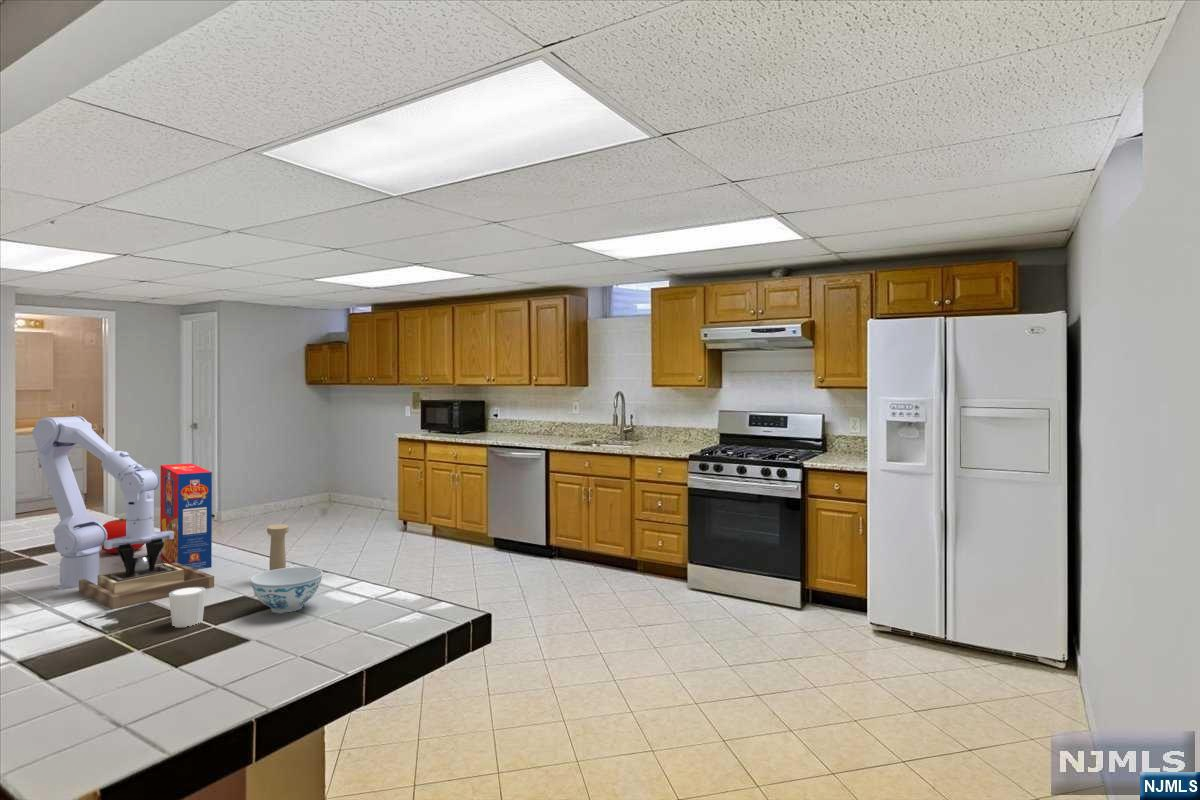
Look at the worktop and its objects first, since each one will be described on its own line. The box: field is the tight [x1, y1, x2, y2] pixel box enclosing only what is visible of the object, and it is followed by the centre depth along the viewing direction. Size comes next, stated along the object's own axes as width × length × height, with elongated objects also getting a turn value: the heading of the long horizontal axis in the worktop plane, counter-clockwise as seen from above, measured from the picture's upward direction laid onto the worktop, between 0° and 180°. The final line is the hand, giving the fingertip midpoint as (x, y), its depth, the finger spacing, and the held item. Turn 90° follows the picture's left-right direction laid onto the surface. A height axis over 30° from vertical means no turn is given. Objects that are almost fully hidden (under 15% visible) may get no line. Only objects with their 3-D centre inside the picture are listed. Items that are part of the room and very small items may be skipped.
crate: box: [97, 562, 185, 595], centre depth 165 cm, size 11×15×4 cm
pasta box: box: [159, 463, 213, 570], centre depth 191 cm, size 28×8×28 cm, turn 42°
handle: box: [266, 523, 289, 571], centre depth 173 cm, size 5×6×15 cm
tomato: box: [101, 518, 146, 554], centre depth 205 cm, size 14×13×10 cm
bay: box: [78, 562, 215, 610], centre depth 163 cm, size 22×21×4 cm
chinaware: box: [250, 566, 323, 614], centre depth 153 cm, size 15×15×8 cm
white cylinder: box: [168, 587, 207, 628], centre depth 143 cm, size 7×7×7 cm
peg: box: [131, 554, 150, 577], centre depth 165 cm, size 4×4×6 cm
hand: (140, 572), depth 165 cm, fingers closed on peg, 4 cm apart
